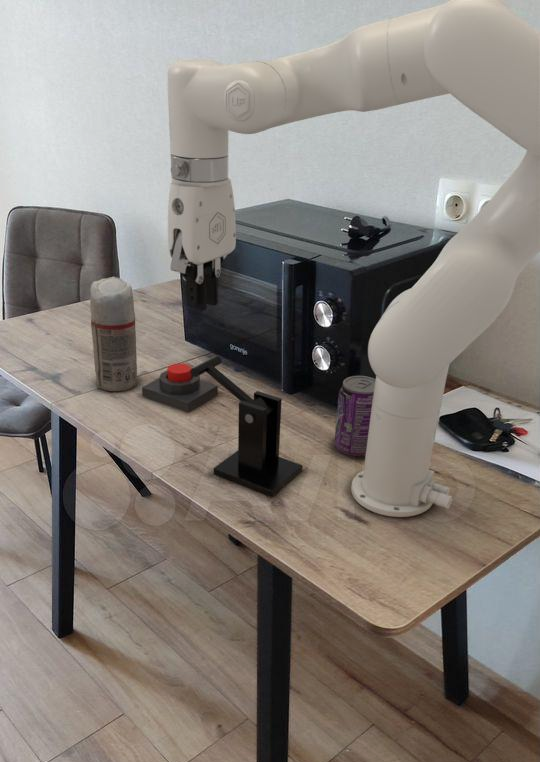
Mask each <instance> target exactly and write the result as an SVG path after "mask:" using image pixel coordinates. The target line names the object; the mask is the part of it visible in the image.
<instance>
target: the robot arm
mask: <svg viewBox="0 0 540 762" xmlns="http://www.w3.org/2000/svg"><path fill="white" fill-rule="evenodd" d="M166 81H167V103H168V106H167V107H168V128H169V129H168V130H169V131H168V132H169V151H170V179H171V182H170V185H169V194H168V207H167V244H168V245H167V246H168V253H169V256H170V258H171V261H170V267H169V268H170V271H172V272H176V273H179V274H180V275H181V276H182V280H183V281H185V288H186V289H185V292H186V294H185V295H186V296H185V297H186V306H187V307H188V308H190V309H194V310H197V311H202V312H203V311H206V310H207V307H208V305H210V306H217V305H218V304H219V277H220V275H221V266H222V265H223V262H224V260H225V259H226V258H227V257H228V255H229V254H231V253H233V252H234V250H235V249H236V247H237V226H236V225H237V223H236V207H235V198H234V190H233V185H232V180H231V178H229V132H233V133H235V134H236V133H237V134H242V135H254V134H258V133H262V132H264V131H267V130H269V129H273V128H277V127H281V126H284V125H287V124H291V123H296V122H300V121H303V120H307V119H313V118H318V117H321V116H325V115H330V114H335V113H340V112H348V111H355V112H361V113H366V112H372V111H377V110H383V109H386V108H392V107H396V106H399V105H404V104H409V103H412V102H417V101H421V100H426V99H431V98H434V97H439V96H440V97H441V96H445V95H449V94H450V95H451V96H452V97H453V98H455V99H456V100H457V101H459V103H461V104H462V105H464V106H465V107H466V108H468V109H469V111H471V112H473V113H474V114H475V115H477V116H478V117H480V118H481V119H483V120H484V121H486V122H487V123H488V124H490V125H491V126H492V127H494V128H495V129H496V130H498V131H499V132H501V133H502V134H503V135H505V136H506V137H507V138H509V139H510V140H511V141H512V142H514V143H516V144H517V145H519V146H520V147H521V148H523V149H524V150H526V152H525V154H524V157H523V158H522V160H521V161H520V163H519V165H518V166H517V167H516V169H515V170H514V171H513V172H512V174H510V175H509V177H508V178H507V179H506V181H504V183H503V184H502V185H501V186H500V187H499V189H498V190H497V191H496V192H495V194H494V195H493V196H492V197H491V198H490V200H489V201H487V202H486V203H485V205H484V206H483V207H481V209H480V210H479V211H478V212H477V213H476V214H475V216H474V217H473V218H472V219H471V220H470V221H469V222H468V223H467V224H466V225H465V226H464V227H463V228H462V229H461V230H460V231H459V232H457V233H456V234H455V235H454V236H453V237H451V239H449V240H448V242H447V243H446V244H445V245H444V247H443V248H442V250H441V251H440V253H439V254H438V256H437V258H436V259H435V261H434V262H433V263H432V265H430V267H429V268H427V270H426V271H425V272H424V273H423V275H422V276H421V277H420V278H419V279H418V280H417V282H416V283H414V285H413V286H412V287H411V288H408V289H406V290H403V291H402V292H401V293H400V294H398V295H397V296H396V297H395V298H394V299H392V301H391V302H390V303H389V305H388V306H387V308H386V309H385V311H384V312H383V313H382V315H381V317H380V319H379V320H378V322H377V323H376V325H375V327H374V328H373V330H372V332H371V334H370V337H369V340H368V344H367V357H368V362H369V365H370V367H371V370H372V372H373V373H374V374H375V379H376V380H375V387H374V395H373V401H372V409H371V417H370V425H369V433H368V440H367V448H366V455H364V465H363V470H361V471H360V472H358V473H357V474H355V476H354V477H353V478H352V481H351V486H350V490H351V491H350V492H351V494H352V497H353V499H354V500H355V501H356V502H357V503H358V504H359V505H360V506H362V507H363V508H365V509H367V510H368V511H370V512H372V513H375V514H378V515H382V516H386V517H391V518H407V517H414V516H418V515H420V514H423V513H425V512H427V511H428V510H429V509H430V508H431V507H432V506H433V505H434V504H435V505H436V506H438V507H441V508H445V509H449V508H450V507H451V504H452V501H453V495H450V492H451V487H449V486H446V485H443V484H439V483H436V480H434V476H435V471H434V470H432V469H430V467H431V460H432V456H433V450H434V445H435V441H436V434H437V429H438V423H439V419H440V418H439V416H440V412H441V409H442V403H443V398H444V394H445V387H446V382H447V378H448V374H449V368H450V364H451V363H452V362H453V361H454V360H455V359H457V357H459V355H460V354H462V353H463V352H464V351H465V350H466V349H467V348H468V347H469V346H470V345H471V344H472V343H473V342H474V341H475V340H476V339H477V338H478V337H479V336H481V334H482V333H484V332H485V330H487V329H488V328H489V327H490V326H491V325H492V324H493V323H494V322H495V320H496V319H497V318H498V317H499V316H500V315H501V313H503V311H504V309H505V308H506V307H507V305H508V303H509V302H510V300H511V298H512V296H513V293H514V290H515V286H516V283H517V279H518V277H519V275H520V274H521V273H522V272H523V270H524V269H525V268H526V267H527V265H529V263H531V262H532V260H533V259H534V258H535V257H536V256H537V255H539V253H540V32H539V31H538V30H537V29H535V28H534V27H533V26H531V25H530V24H528V22H526V21H525V20H523V18H521V17H520V16H518V14H516V13H515V12H513V10H512V9H510V7H509V5H508V4H507V3H505V1H504V0H449V1H447V2H445V3H441V4H439V5H435V6H431V7H428V8H424V9H421V10H417V11H414V12H410V13H407V14H402V15H399V16H395V17H390V18H386V19H384V20H380V21H376V22H371V23H368V24H364V25H362V26H360V27H357V28H355V29H353V30H352V31H350V32H349V33H348V34H346V35H345V36H344V37H343V38H340V39H339V40H337V41H335V42H331V43H329V44H326V45H323V46H320V47H316V48H313V49H309V50H305V51H302V52H298V53H294V54H290V55H286V56H282V57H280V58H279V57H277V58H274V59H266V60H264V59H263V60H255V61H246V62H239V63H238V62H237V63H231V64H223V63H221V62H219V61H215V60H208V59H207V60H205V59H179V60H175V61H173V62H171V64H170V65H169V67H168V69H167V80H166Z"/></svg>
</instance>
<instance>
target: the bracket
mask: <svg viewBox="0 0 540 762" xmlns="http://www.w3.org/2000/svg"><path fill="white" fill-rule="evenodd" d="M259 398H261V399H263V400H264V401H265V402H266V403H267V404H269V405H270V406H271V407H272V408H273V409H274V410H273V412H272V413H271V415H270V417H269V419H268V420H267V408H264V407H261V406H258V405H255V404H252V403H249V402H246V401H240V402H238V431H237V432H238V434H237V436H238V438H237V439H238V441H237V443H238V445H237V451H235V452H234V453H232V454H230V455H229V456H228V457H227V458H225V459H224V460H222V461H221V462H220V463H218V464H217V465H215V466H214V467H213V475H214V476H217V477H219V478H222V479H225V480H227V481H230V482H232V483H234V484H236V485H240V486H242V487H245V488H247V489H250V490H252V491H255V492H257V493H260V494H262V495H264V496H267V497H270V498H273V497H275V495H277V494H278V493H279V492H280V491H281V490H283V489H284V488H285V487H286V486H287V485H288V484H290V483H291V482H292V481H293V480H294V479H295V478H297V476H299V475H300V474H301V473H302V472H303V464H300V463H297V462H295V461H292V460H289V459H287V458H284V457H281V456H280V442H281V441H280V440H281V439H280V438H281V420H282V419H281V418H282V402H283V401H282V398H281V397H278V396H274V395H271V394H268V393H265V392H262V391H260V390H256V391H255V392H253V400H254V401H255V400H257V399H259Z"/></svg>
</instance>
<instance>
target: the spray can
mask: <svg viewBox="0 0 540 762" xmlns="http://www.w3.org/2000/svg"><path fill="white" fill-rule="evenodd" d="M89 292H90V293H89V299H90V300H89V308H90V328H91V338H92V339H91V340H92V348H93V350H92V352H93V359H94V361H93V362H94V371H95V385H96V387H97V388H99V389H100V390H104V391H108V392H121V391H122V392H123V391H127V390H131V389H133V388H135V387H136V386H137V384H138V379H137V378H138V377H137V376H138V364H137V333H136V332H137V331H136V313H135V305H134V304H135V302H134V294H133V287H132V285H131V283H128V282H125V280H124V279H122V278H120V277H117V276H115V275H114V276H110V277H107V278H101V279H100V280H94V281H92V282H91V285H90V290H89Z"/></svg>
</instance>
